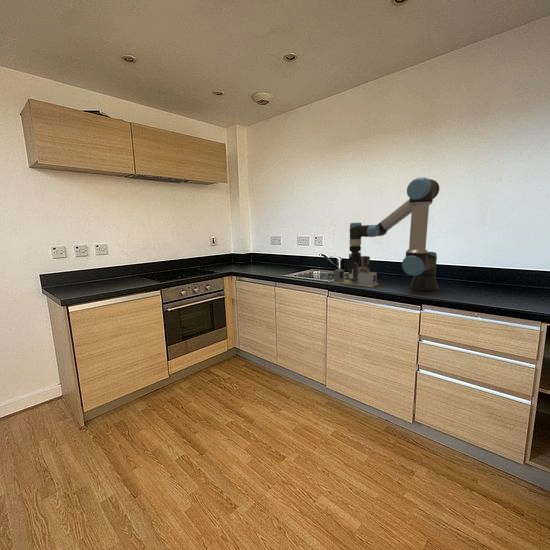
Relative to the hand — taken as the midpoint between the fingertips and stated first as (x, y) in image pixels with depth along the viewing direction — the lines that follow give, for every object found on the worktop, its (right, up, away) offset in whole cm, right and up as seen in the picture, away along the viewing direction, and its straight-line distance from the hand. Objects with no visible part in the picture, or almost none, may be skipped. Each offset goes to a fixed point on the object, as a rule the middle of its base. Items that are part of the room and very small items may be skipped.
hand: (354, 277), depth 198 cm
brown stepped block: (+3, -3, -2) cm, 5 cm away
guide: (0, -5, +1) cm, 5 cm away
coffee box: (+13, 0, +25) cm, 28 cm away
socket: (-9, -3, +8) cm, 13 cm away
